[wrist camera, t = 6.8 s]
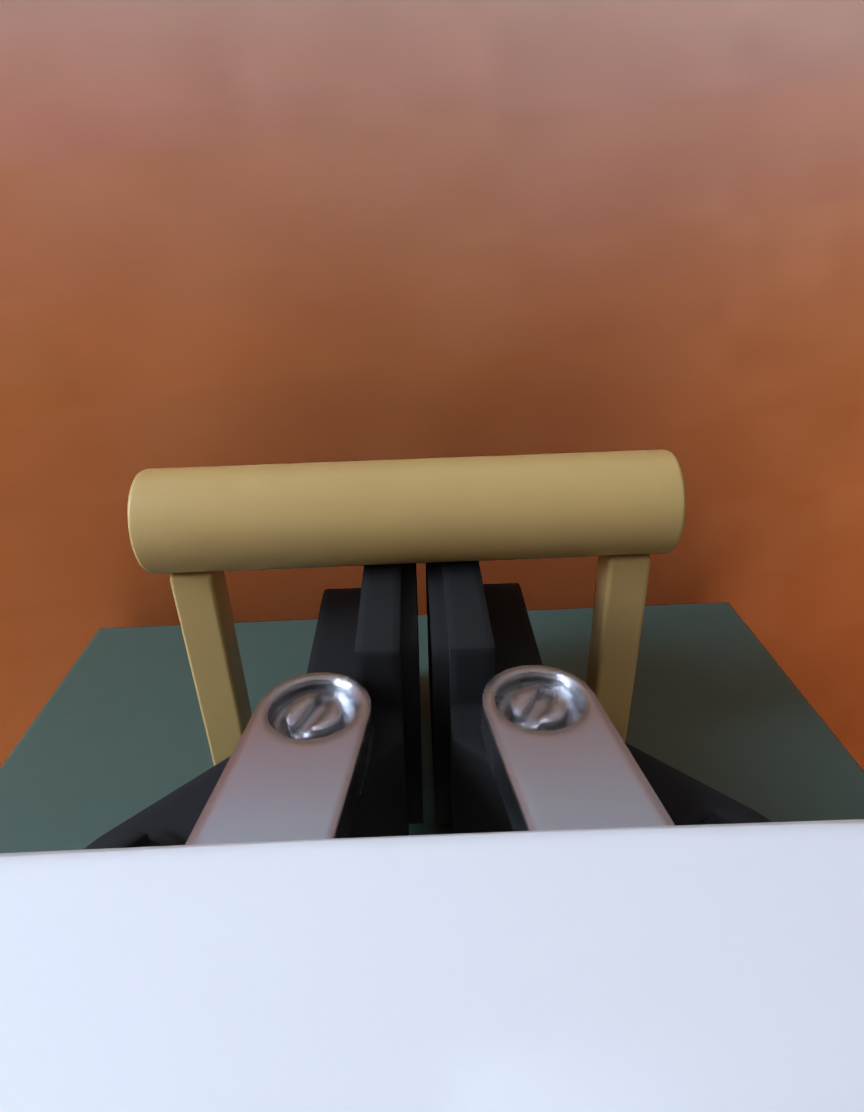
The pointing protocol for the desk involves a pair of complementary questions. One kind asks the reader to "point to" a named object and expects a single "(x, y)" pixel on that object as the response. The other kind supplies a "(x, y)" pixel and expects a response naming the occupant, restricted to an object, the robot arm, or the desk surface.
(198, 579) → the drawer
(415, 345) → the desk surface
